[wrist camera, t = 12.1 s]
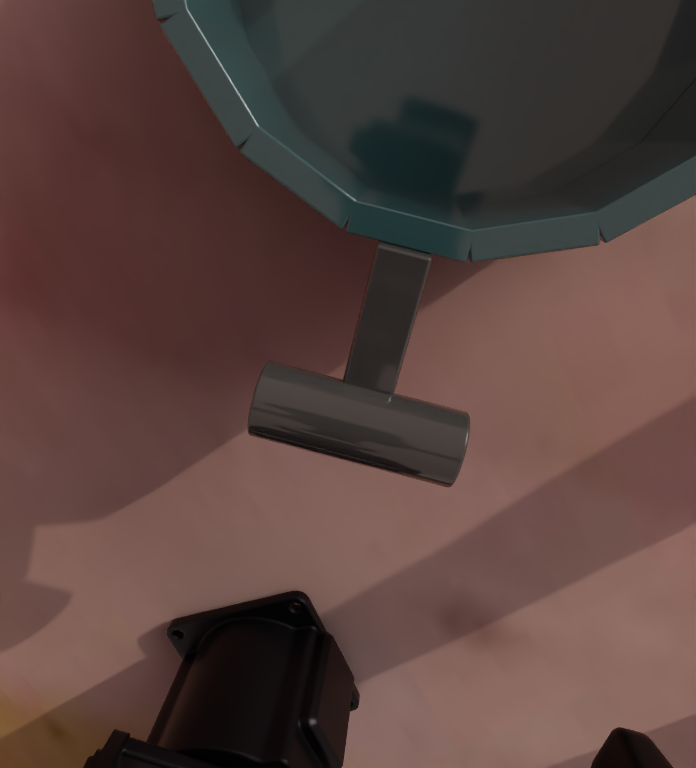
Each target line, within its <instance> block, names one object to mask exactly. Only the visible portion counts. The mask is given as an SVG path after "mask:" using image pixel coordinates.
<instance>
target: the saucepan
mask: <svg viewBox="0 0 696 768" xmlns="http://www.w3.org/2000/svg"><path fill="white" fill-rule="evenodd" d="M151 1H152V5H153V9H154V13H155V17H156V19H157V20H158V21H160V22H162V24H161V25H160V29H161V31H162V33H163V34H164V36H165V37H166V39H167V41H168V42H169V44H170V45H171V47H172V48H173V50H174V52H175V53H176V55H177V56H178V58H179V60H180V61H181V63H182V64H183V66H184V68H185V69H186V71H187V72H188V74H189V76H190V77H191V79H192V80H193V82H194V84H195V85H196V87H197V88H198V90H199V92H200V93H201V95H202V96H203V98H204V100H205V101H206V103H207V104H208V106H209V108H210V109H211V111H212V112H213V114H214V116H215V117H216V119H217V120H218V122H219V124H220V125H221V127H222V128H223V130H224V132H225V133H226V135H227V136H228V138H229V139H230V141H231V143H232V144H233V146H234V147H235V148H241V149H240V153H241V155H243V156H244V157H245V158H247V159H248V160H249V161H250V162H252V163H253V164H254V165H256V166H257V167H258V168H260V169H261V170H262V171H264V172H265V173H266V174H268V175H269V176H270V177H272V178H273V179H274V180H276V181H277V182H278V183H280V184H281V185H282V186H284V187H285V188H286V189H288V190H289V191H290V192H292V193H293V194H294V195H296V196H297V197H298V198H300V199H301V200H302V201H304V202H305V203H306V204H308V205H309V206H310V207H312V208H313V209H314V210H316V211H317V212H318V213H319V214H321V215H322V216H323V217H325V218H326V219H327V220H329V221H330V222H331V223H333V224H334V225H335V226H337V227H338V228H340V229H342V228H344V227H345V225H346V224H347V226H346V232H347V233H351V234H354V235H358V236H362V237H366V238H370V239H374V240H378V241H379V242H378V244H377V246H376V250H375V254H374V258H373V262H372V266H371V270H370V274H369V278H368V282H367V286H366V290H365V294H364V298H363V302H362V306H361V310H360V314H359V318H358V322H357V326H356V330H355V334H354V338H353V342H352V346H351V350H350V354H349V358H348V362H347V366H346V370H345V374H344V378H343V380H342V379H338V378H334V377H331V376H327V375H323V374H319V373H315V372H311V371H308V370H304V369H300V368H296V367H292V366H288V365H285V364H281V363H277V362H273V361H268V362H267V363H266V364H265V366H264V368H263V370H262V372H261V374H260V377H259V379H258V382H257V385H256V388H255V392H254V395H253V399H252V403H251V407H250V412H249V418H248V434H249V435H250V436H253V437H257V438H261V439H265V440H269V441H272V442H276V443H280V444H284V445H288V446H291V447H295V448H299V449H303V450H307V451H310V452H314V453H318V454H322V455H326V456H329V457H333V458H337V459H341V460H345V461H348V462H352V463H356V464H360V465H364V466H368V467H371V468H375V469H379V470H383V471H387V472H390V473H394V474H398V475H402V476H406V477H409V478H413V479H417V480H421V481H425V482H428V483H432V484H436V485H440V486H444V487H451V486H452V485H453V483H454V482H455V480H456V478H457V476H458V474H459V472H460V469H461V466H462V463H463V460H464V456H465V452H466V448H467V444H468V438H469V431H470V416H469V414H468V413H467V412H465V411H461V410H457V409H453V408H450V407H446V406H442V405H438V404H434V403H430V402H427V401H423V400H419V399H415V398H411V397H407V396H404V395H400V394H396V393H394V391H395V388H396V384H397V381H398V377H399V374H400V370H401V367H402V363H403V360H404V356H405V353H406V349H407V346H408V343H409V339H410V336H411V332H412V329H413V325H414V322H415V318H416V315H417V311H418V308H419V304H420V301H421V297H422V294H423V290H424V287H425V284H426V280H427V277H428V273H429V270H430V266H431V263H432V258H431V254H432V255H436V256H440V257H444V258H448V259H452V260H456V261H459V262H463V263H464V262H466V261H467V258H469V260H470V262H472V263H475V262H482V261H489V260H496V259H504V258H511V257H518V256H525V255H532V254H540V253H547V252H554V251H561V250H568V249H575V248H583V247H590V246H597V245H599V244H600V240H601V241H603V242H605V243H607V242H609V241H611V240H613V239H614V238H616V237H618V236H620V235H622V234H624V233H626V232H627V231H629V230H631V229H633V228H635V227H637V226H639V225H640V224H642V223H644V222H646V221H648V220H650V219H652V218H653V217H655V216H657V215H659V214H661V213H663V212H665V211H666V210H668V209H670V208H672V207H674V206H676V205H678V204H679V203H681V202H683V201H685V200H687V199H689V198H691V197H692V196H694V195H696V0H151Z"/></svg>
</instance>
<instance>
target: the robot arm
mask: <svg viewBox="0 0 696 768" xmlns="http://www.w3.org/2000/svg"><path fill="white" fill-rule="evenodd" d="M294 603H298V604H300V605H295V604H294ZM179 630H180V631H179ZM181 631H182V632H181ZM167 635H168V637H169V639H170V641H171V642H172V644H173V645H174V647H175V648H176V650H177V651H178V653H179V654H180V656H181V657H182V659H183V661H182V663H181V665H180V668H179V670H178V672H177V674H176V677H175V679H174V681H173V683H172V686H171V688H170V690H169V692H168V694H167V697H166V699H165V701H164V703H163V706H162V708H161V710H160V712H159V715H158V717H157V719H156V721H155V724H154V726H153V728H152V730H151V732H150V735H149V737H148V739H147V741H146V742H144V741H141V740H138V739H135V738H132V737H130V734H129V733H126V732H123V731H120V730H117V729H114V731H113V732H112V734H111V736H110V737H109V739H108V741H107V742H106V744H105V745H104V747H103V749H102V750H100V749H98V750H97V751H96V752H95V754H94V756H90V757H88V759H87V761H86V763H85V765H84V767H83V768H341V767H342V766H343V760H344V752H345V745H346V737H347V729H348V722H349V714H350V711H353V710H356V709H357V708H358V705H359V698H360V695H359V692H358V690H357V688H356V686H355V685H354V676H353V674H352V672H351V670H350V668H349V666H348V664H347V663H346V661H345V659H344V657H343V655H342V653H341V651H340V649H339V647H338V645H337V643H336V642H335V640H334V638H333V636H332V635H331V634H329V633H328V632H327V631H326V629H325V628H324V626H323V624H322V622H321V620H320V618H319V616H318V614H317V612H316V610H315V608H314V607H313V605H312V603H311V601H310V599H309V597H308V596H307V595H306V594H305V593H303V592H301V591H290V592H286V593H282V594H278V595H274V596H269V597H265V598H261V599H257V600H252V601H248V602H244V603H240V604H236V605H231V606H227V607H223V608H219V609H214V610H210V611H206V612H202V613H198V614H193V615H189V616H185V617H181V618H177V619H174V620H172V622H171V623H170V625H169V627H168V629H167ZM591 768H673V767H672V766H671V764H670V763H669V762H668V760H667V759H666V758H665V757H664V755H663V754H662V753H661V752H660V750H659V749H658V748H657V746H656V745H655V744H654V743H653V741H652V740H651V739H650V738H649V737H648V736H646V735H645V734H643V733H640V732H636V731H633V730H629V729H625V728H620V727H618V728H616V729H614V730H613V731H612V732H611V733H610V735H609V736H608V738H607V740H606V741H605V743H604V744H603V746H602V747H601V749H600V751H599V752H598V754H597V755H596V757H595V759H594V760H593V763H592V766H591Z"/></svg>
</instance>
